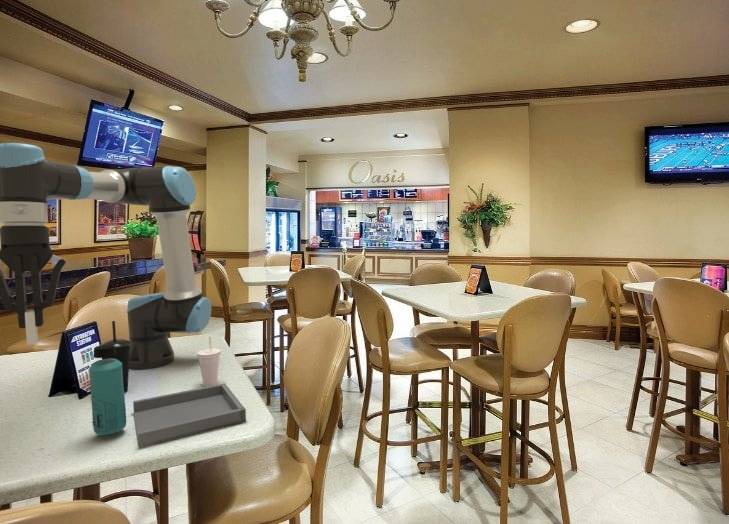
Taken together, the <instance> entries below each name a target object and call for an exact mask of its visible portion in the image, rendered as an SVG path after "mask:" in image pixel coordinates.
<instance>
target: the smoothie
mask: <svg viewBox="0 0 729 524" xmlns="http://www.w3.org/2000/svg"><path fill="white" fill-rule="evenodd" d="M208 346H209V347H208V348H205V349H202V350H199V351H197V352H196V357H197V358H198V363H199V367H200V374H201V379H202V385H203V386H204V387H208V386H213V385H218V376H219V366H220V364H219V361H220V355H221V349H219V348H212V336H208Z"/></svg>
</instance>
